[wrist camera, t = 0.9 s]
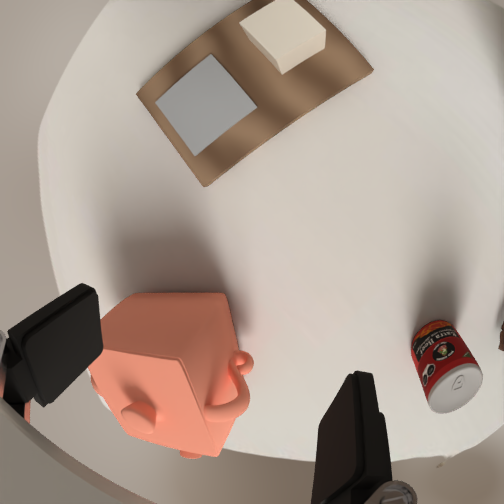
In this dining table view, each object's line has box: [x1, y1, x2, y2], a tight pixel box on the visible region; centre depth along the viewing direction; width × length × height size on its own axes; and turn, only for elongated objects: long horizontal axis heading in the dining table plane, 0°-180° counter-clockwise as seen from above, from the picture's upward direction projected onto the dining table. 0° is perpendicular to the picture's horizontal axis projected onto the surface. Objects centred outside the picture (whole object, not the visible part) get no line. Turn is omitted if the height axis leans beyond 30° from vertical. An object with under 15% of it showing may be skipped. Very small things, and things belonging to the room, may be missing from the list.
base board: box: [136, 0, 374, 187], centre depth 28 cm, size 24×16×2 cm, turn 126°
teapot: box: [88, 293, 254, 458], centre depth 34 cm, size 25×23×18 cm
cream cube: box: [239, 0, 326, 75], centre depth 23 cm, size 6×6×5 cm
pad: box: [155, 54, 257, 156], centre depth 29 cm, size 9×9×1 cm
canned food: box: [411, 320, 483, 414], centre depth 28 cm, size 8×8×11 cm
